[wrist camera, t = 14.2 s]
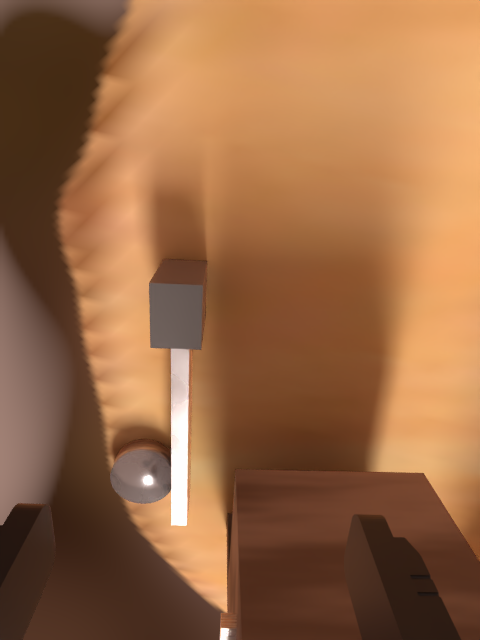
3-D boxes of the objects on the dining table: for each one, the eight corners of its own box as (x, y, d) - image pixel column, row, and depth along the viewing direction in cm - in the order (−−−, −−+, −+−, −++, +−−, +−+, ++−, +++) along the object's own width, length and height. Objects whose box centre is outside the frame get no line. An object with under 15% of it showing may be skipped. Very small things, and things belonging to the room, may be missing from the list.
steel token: (125, 430, 34) (119, 446, 33) (183, 447, 35) (181, 463, 33) (109, 477, 36) (103, 494, 34) (166, 492, 37) (162, 509, 35)
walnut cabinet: (223, 414, 34) (223, 695, 16) (395, 419, 35) (574, 692, 17) (217, 532, 38) (212, 853, 21) (370, 534, 39) (490, 846, 21)
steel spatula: (163, 258, 29) (149, 282, 24) (207, 261, 29) (202, 285, 24) (165, 492, 37) (154, 552, 31) (200, 492, 37) (196, 553, 31)
